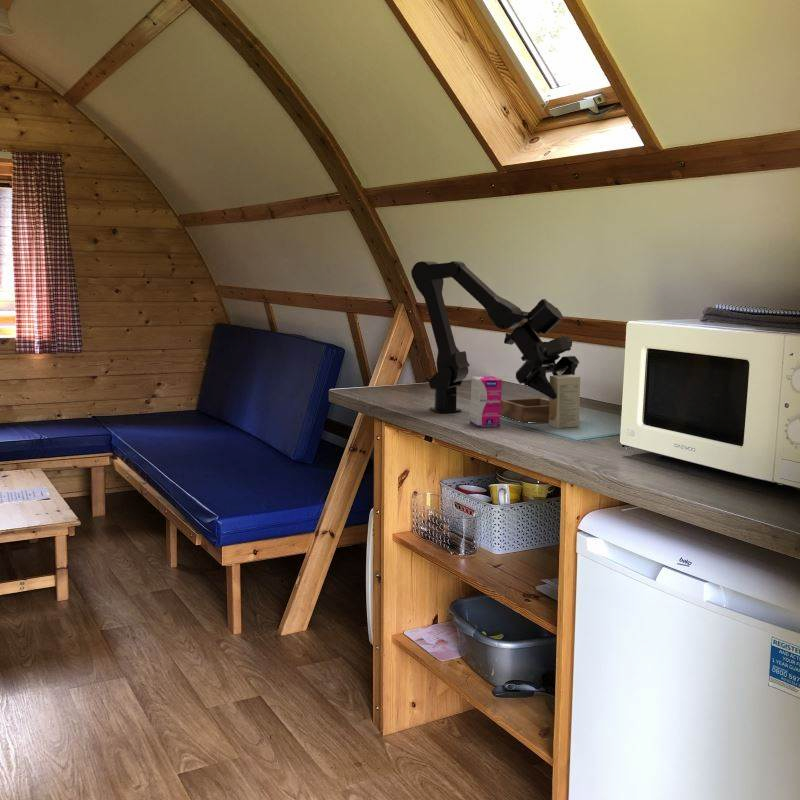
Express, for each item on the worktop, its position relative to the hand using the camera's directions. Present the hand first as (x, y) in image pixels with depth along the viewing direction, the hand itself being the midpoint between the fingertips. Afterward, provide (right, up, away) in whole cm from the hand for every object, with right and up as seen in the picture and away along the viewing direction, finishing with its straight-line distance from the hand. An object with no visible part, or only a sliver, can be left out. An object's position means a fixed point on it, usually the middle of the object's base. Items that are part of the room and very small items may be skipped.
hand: (567, 396), depth 210 cm
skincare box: (-1, -7, +2) cm, 8 cm away
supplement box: (-19, -7, +2) cm, 21 cm away
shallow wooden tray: (-6, -5, +12) cm, 15 cm away
